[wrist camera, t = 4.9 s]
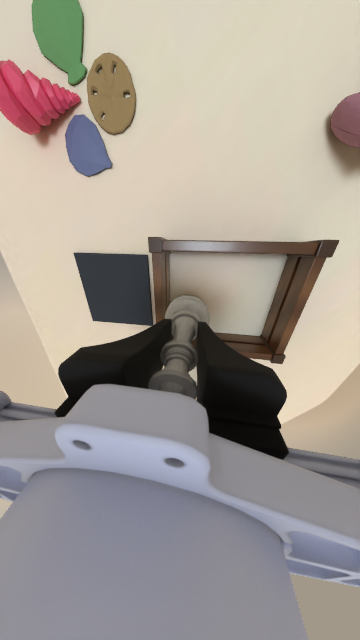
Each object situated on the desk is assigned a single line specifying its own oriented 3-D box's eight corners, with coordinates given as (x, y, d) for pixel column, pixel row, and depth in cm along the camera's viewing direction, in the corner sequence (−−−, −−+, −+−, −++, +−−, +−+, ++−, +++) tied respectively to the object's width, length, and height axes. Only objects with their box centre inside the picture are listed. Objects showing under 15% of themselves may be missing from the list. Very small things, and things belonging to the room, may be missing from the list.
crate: (266, 343, 23) (282, 364, 18) (163, 334, 24) (155, 351, 20) (303, 243, 16) (340, 239, 12) (160, 240, 18) (147, 237, 14)
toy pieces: (75, 203, 17) (38, 188, 13) (-5, 77, 14) (-88, 6, 10) (152, 129, 14) (134, 80, 10) (73, -69, 10) (-8, -276, 6)
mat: (152, 324, 24) (152, 325, 23) (94, 319, 25) (92, 320, 25) (148, 254, 19) (146, 254, 19) (75, 252, 20) (73, 252, 20)
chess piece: (183, 338, 16) (161, 447, 7) (159, 309, 15) (95, 395, 6) (216, 320, 14) (244, 429, 5) (193, 285, 13) (179, 352, 4)
